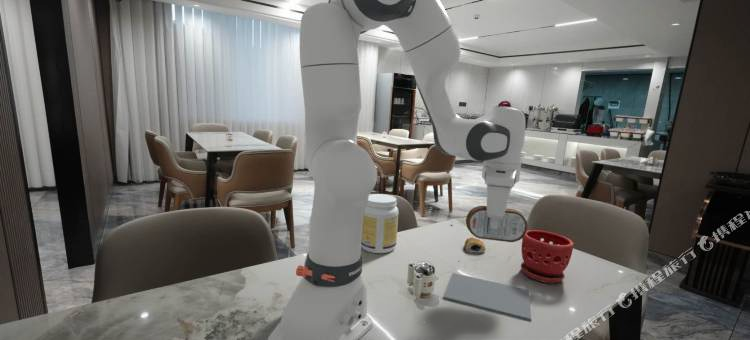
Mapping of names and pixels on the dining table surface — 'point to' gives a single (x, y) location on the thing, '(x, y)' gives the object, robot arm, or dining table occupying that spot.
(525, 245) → the plant pot
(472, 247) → the pastry
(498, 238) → the tin
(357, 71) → the robot arm
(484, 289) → the mat
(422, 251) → the dining table surface
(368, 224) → the supplement tub
